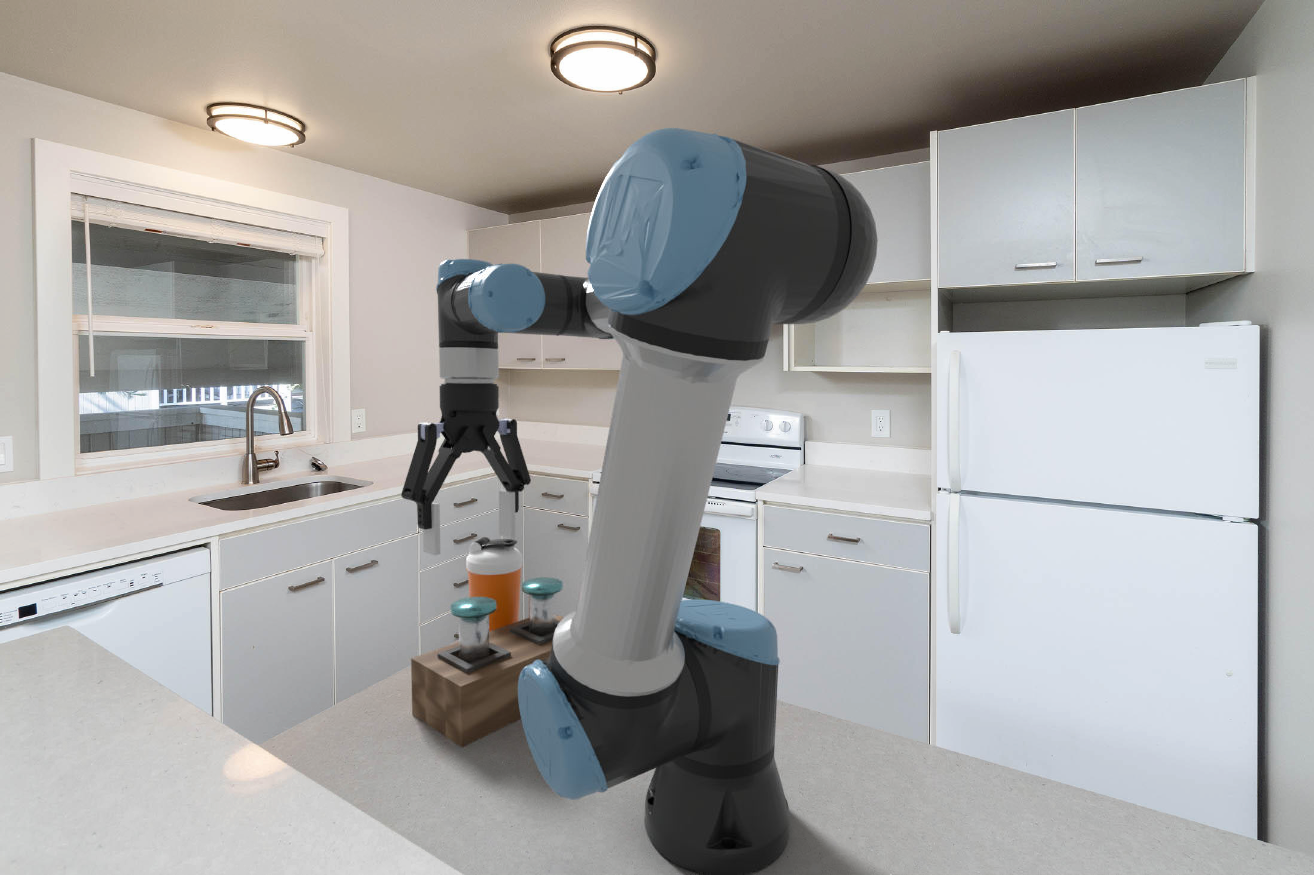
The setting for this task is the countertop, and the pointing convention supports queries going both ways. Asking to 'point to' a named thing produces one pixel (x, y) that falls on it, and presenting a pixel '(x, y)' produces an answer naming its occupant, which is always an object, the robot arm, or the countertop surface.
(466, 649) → the peg left
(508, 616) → the shaker bottle
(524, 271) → the robot arm
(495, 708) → the socket block
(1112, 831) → the countertop surface
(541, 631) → the peg right
